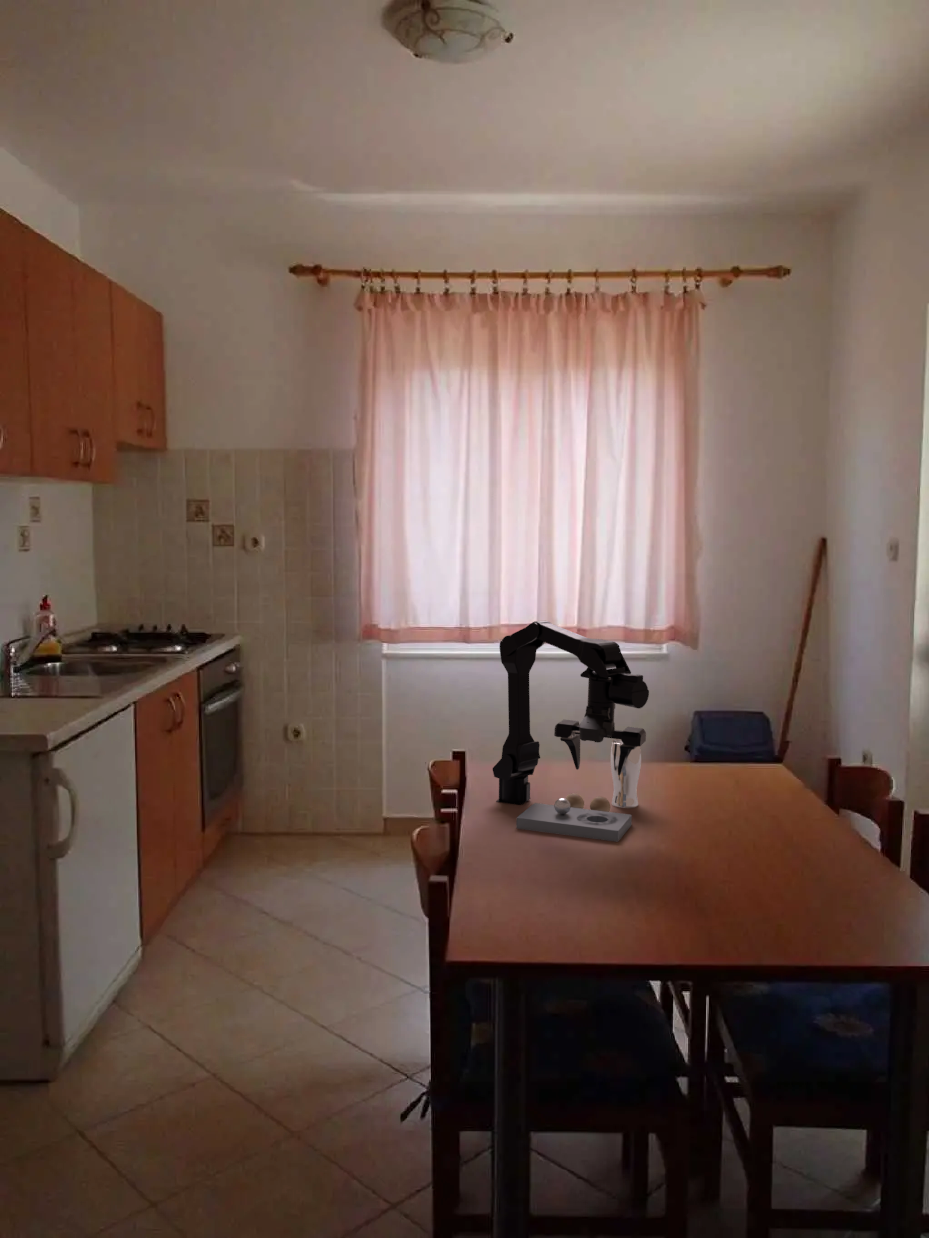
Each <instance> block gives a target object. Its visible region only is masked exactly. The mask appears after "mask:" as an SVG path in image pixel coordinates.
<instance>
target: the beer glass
mask: <svg viewBox="0 0 929 1238" xmlns="http://www.w3.org/2000/svg"><path fill="white" fill-rule="evenodd" d="M622 744H623V742H622V741H621V739H612V740H611V748H610V770H611V771H610V772H611V778H612V783H613V785H612V786H613V794H612V800H611V805H612V806H614V807H616V808H622V809H634V808H637V807H638V806H639V799H638V795H637V794H638V793H637V792H638V791H637V789H638V782H639V778H640V772H641V765H642V749H641V748H642V747H641V746H642V745H641V746H638V747H636V748H635V749H633V750H631V752H630V754H629V756H628V758H627V760H626V763H625V765H624V768H623V770H622V772H621V774H620V775H618V764H619V757H620V746H621V745H622Z"/></svg>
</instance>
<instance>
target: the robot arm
mask: <svg viewBox="0 0 929 1238" xmlns="http://www.w3.org/2000/svg"><path fill="white" fill-rule="evenodd" d="M544 644H548V645H551V646H553V647H555V648H557V649H559V650H562V651H564V652H566V653H569V654H572V655H573V656H575V657H577V659H578V660H579V662H580V663H581V664H583V665H584V666H585V667H586V669H585V670H584V671H583V672H581V673H580V677H581V678H586V679H588V685H587V687H588V688H587V705H586V708H585V714H584V717H583V718H582V720H581V721H580V722H579V721H578V720H572V719H571V720H570V719H562V720H561V721H559V722H558V723H556V724H555V726H554V734H553V735H554V737H556V738H559V739H560V741H561V742H564V743H565V744H566V745H567V746H568V749H569V752H570V755H571V756H572V760H573V764H574V767H575V769H576V770H577V771H578V770H579V769H580V766H581V741H583V742H586V741H589V742H594V743H601V742H603V741H604V739H605V738H607V739H612V740H614V739H621V741H622V742H623V744H622V745H621V746H620V757H619V764H618V775H620V774H621V772H622V770H623V768H624V765H625V763H626V760H627V758H628V756H629V754H630V752H631V750H633V749H635V748H636V747H638V746H643V744H644V743H645V742H646V739H647V732H646V730H645V729H644V728H642V727H632V726H627V727H626V728H625V729H623V730H619V729H615V728H616V727H615V724H616V723H615V710H616V705H619V706H625V707H629V708H634V709H642V708H643V707H645V705H646V704H647V702H648V699H649V697H650V696H649V694H650V690H649V688H648V685H647V683H646V682H645V681H644V675H642V674H632V671H631V669H630V668H629V665H628V664H627V661H626V660H625V657H624V655H623V654H622V651H621V647H620V645H619V644H618V643H617V642H616V641H612V640H607V639H602V638H601V639H599V638H589V637H586V636H583V635H581V634H579V633H576V632H574V631H571V630H569V629H566V628H564V627H561V626H558V625H556V624H553V623H552V622H550V621H549V620H538V621H532V622H531V623H529V624H528V625H527V626H526V627H523V628H522V629H519V630H518V631H515V632H513V633H512V634H510V635H505V636H504V637H503V638H502V639H501V640H500V642H499V654H500V662H501V664H502V665H503V667H504V669H505V671H506V672H507V690H508V692H507V694H508V695H507V697H508V698H507V699H508V702H507V703H508V735H507V737H506V738H505V741H504V742H503V743H504V744H503V745H502V749H501V750H502V751H501V758H500V759H499V761H498V762H497V763H496V764H495V765H494V766H493V767H492V773H493V777H494V778H496V779H498V799H497V800H496V801H495V802H496V803H500V804H501V803H502V804H507V805H508V804H509V805H517V806H523V805H524V804H525V803H527V802H528V801H530V800H531V783H530V782H529V776H534V772H535V769H536V767H537V766H538V763H539V759H541V755H540V745H541V744H540V742H539V741H538V740H536V741H535V740H534V738H533V736H532V734H531V715H530V714H531V713H530V712H531V710H530V709H531V705H530V671H531V670H532V668H533V666H534V664H535V662H536V658H537V650H539V649H540V648H541V647H543V646H544Z"/></svg>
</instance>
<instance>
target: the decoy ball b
mask: <svg viewBox="0 0 929 1238" xmlns="http://www.w3.org/2000/svg"><path fill="white" fill-rule="evenodd" d="M589 810H597V811H605V812H611V803H610V801H609V799H607V798H606V797H604V796H600V795H599V796H595V797H594V798H592V800H591V801H590V804H589Z"/></svg>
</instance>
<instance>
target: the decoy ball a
mask: <svg viewBox="0 0 929 1238" xmlns="http://www.w3.org/2000/svg"><path fill="white" fill-rule="evenodd" d="M565 799H567V800H568V801H569V802H570V805H571V807H573V808H581V809H584V807H585V800H584V798H583V797H582V796H581V795H580V794H578V793H577V792H576V793H575V792H574V793H569V794H567V796H565Z"/></svg>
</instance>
